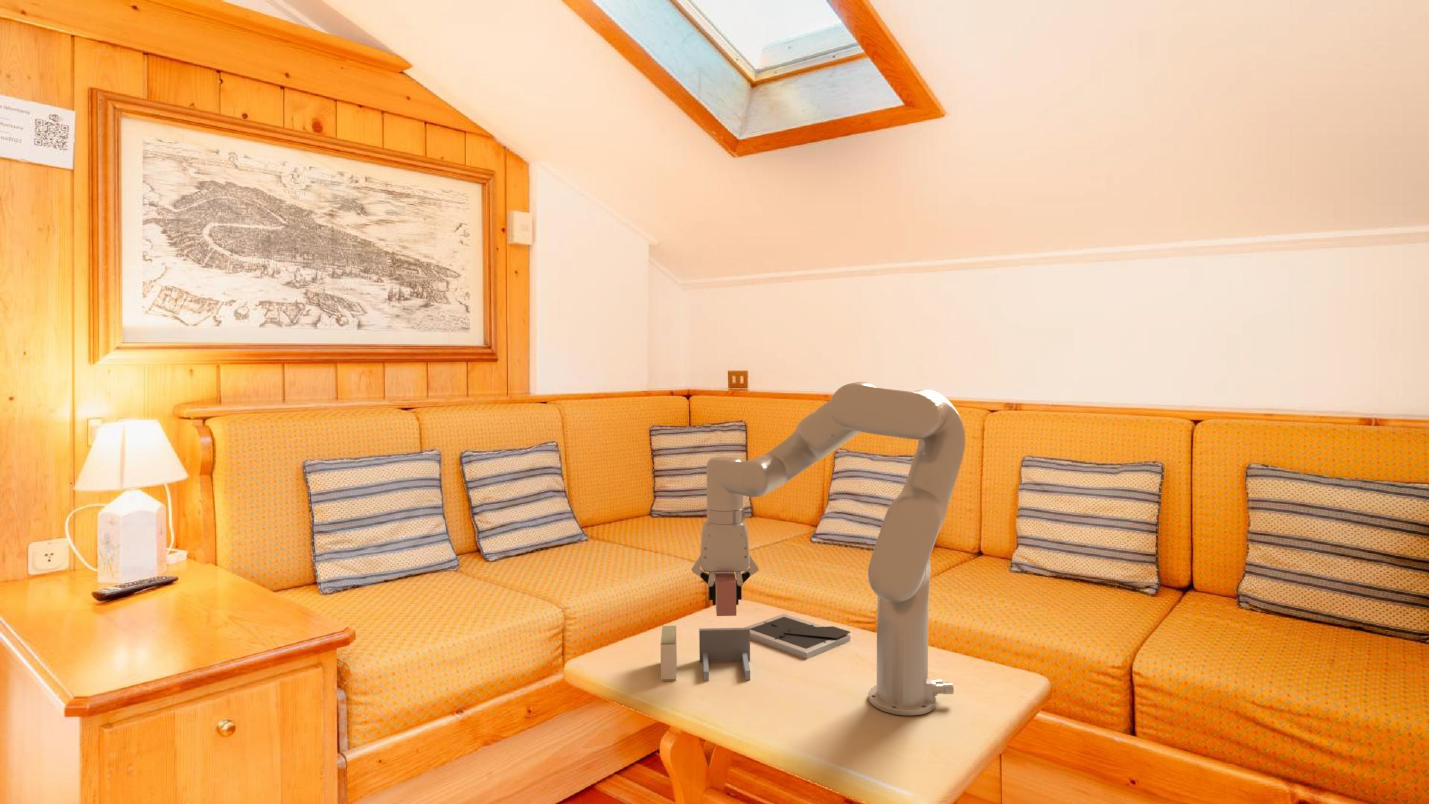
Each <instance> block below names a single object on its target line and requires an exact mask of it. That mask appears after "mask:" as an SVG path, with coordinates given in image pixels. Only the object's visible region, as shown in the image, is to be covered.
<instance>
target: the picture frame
mask: <svg viewBox="0 0 1429 804" xmlns="http://www.w3.org/2000/svg"><path fill="white" fill-rule="evenodd" d="M743 628H750V640H752V641H755V642H758V643H760V644H763V645H766V646H768V647H771V648H774V649H777V650H780V651H783V652H784V653H785V652H786V653H788V654H790V655H793V656H797V657H800V658H801V659H804V660H808V659H811V658H813V657H815V656H818V655H821V654H823V653H825V652H827V651H830V650H833V649H834V648H837V647H840V646H841V645H844V644H846V643H849V642H851V634H850V633H851V631H850V630H846V629H843V628H839V627H836V626H832V625H831V626H824V625H822V624H821V625H820V624H817V623H815V622H811V621H807V620H804V619H801V618H798V617H795V616H792V615H788V614H785V613H782V614H779V615H777V616H774V617H771V618H768V619H765V620H761V621H760V622H756V623H753V624H751V625H747V626H745V627H743Z"/></svg>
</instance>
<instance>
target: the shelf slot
mask: <svg viewBox="0 0 1429 804" xmlns="http://www.w3.org/2000/svg"><path fill="white" fill-rule="evenodd" d="M698 632H699V634H698V637H699V646H698V647H699V663H702V665H703V670H702V671H703V681H704V682H710V674H709V673H710V672H709V671H710V670H709V668H710V667H709V663H711V662H712V663H715V662H716V663H718V662H719V663H725V662H742V669H743V673H744V674H743V675H744V679H745V681H750V680H751V667H750V663H749V662H750V661H751V639H750V628H744V627H720V628H719V627H717V628H715V627H713V628H711V627H710V628H699V631H698Z"/></svg>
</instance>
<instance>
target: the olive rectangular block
mask: <svg viewBox="0 0 1429 804" xmlns="http://www.w3.org/2000/svg"><path fill="white" fill-rule="evenodd" d="M661 628H662V629H661V637H660V639H661V640H660V681H661V682H676V681H677V668H678V667H677V665H678V663H677V662H678V660H677V658H678V653H677V651H678V649H677V625H662V626H661Z"/></svg>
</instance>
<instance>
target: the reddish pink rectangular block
mask: <svg viewBox="0 0 1429 804" xmlns="http://www.w3.org/2000/svg"><path fill="white" fill-rule="evenodd" d="M714 581H715V585H716V605H715V614H716V617H737V605H736V575H735V572H716V574H715V579H714Z"/></svg>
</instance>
